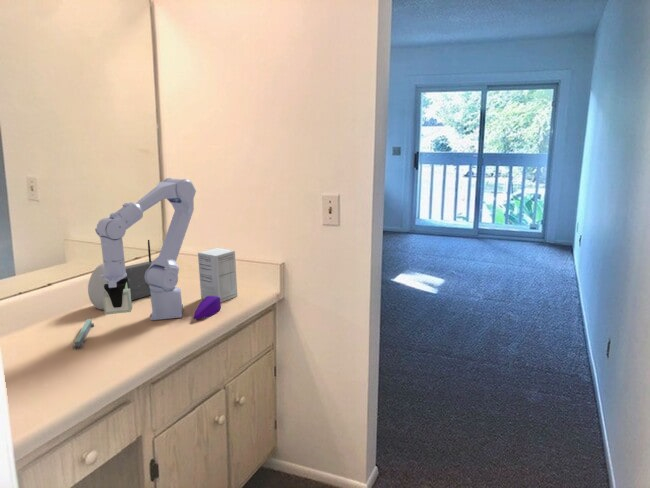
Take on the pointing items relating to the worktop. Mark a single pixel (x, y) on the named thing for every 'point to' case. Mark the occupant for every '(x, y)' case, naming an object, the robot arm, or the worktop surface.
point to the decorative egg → (98, 287)
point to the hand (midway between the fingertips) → (118, 304)
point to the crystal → (208, 307)
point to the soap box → (123, 309)
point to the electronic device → (138, 278)
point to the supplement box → (218, 273)
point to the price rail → (83, 334)
